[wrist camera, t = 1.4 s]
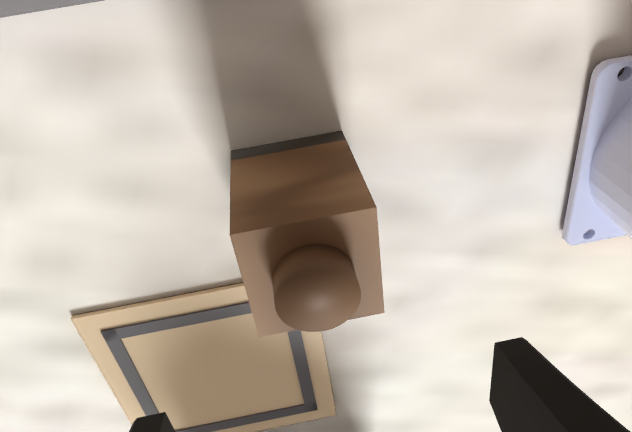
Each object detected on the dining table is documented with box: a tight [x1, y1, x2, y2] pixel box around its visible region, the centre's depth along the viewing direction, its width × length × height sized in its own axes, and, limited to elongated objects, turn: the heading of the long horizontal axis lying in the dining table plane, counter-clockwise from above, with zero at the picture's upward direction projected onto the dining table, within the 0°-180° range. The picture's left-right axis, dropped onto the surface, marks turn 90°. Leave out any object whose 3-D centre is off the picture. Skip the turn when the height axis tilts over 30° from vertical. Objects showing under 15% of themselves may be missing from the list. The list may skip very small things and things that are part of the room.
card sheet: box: [71, 283, 336, 432], centre depth 23 cm, size 10×10×1 cm
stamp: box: [230, 131, 384, 337], centre depth 16 cm, size 4×4×6 cm
